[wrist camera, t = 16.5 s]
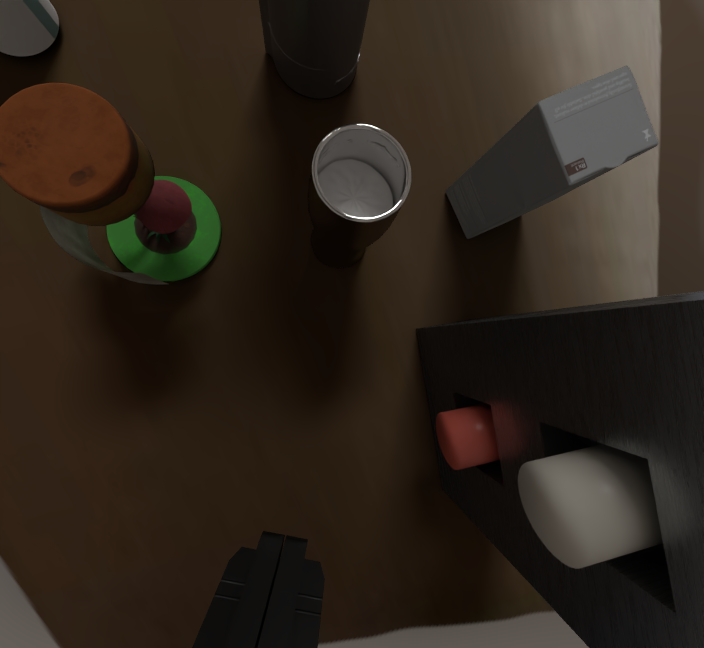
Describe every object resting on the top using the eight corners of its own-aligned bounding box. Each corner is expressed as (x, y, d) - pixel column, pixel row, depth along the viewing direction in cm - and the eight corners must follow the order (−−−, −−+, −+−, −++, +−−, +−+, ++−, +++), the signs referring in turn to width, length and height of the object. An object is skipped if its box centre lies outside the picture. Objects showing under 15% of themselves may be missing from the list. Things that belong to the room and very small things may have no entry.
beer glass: (330, 285, 36) (349, 245, 21) (293, 231, 35) (286, 152, 20) (381, 251, 37) (434, 190, 22) (346, 198, 36) (375, 100, 22)
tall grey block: (442, 489, 36) (1062, 1158, 7) (416, 328, 37) (884, 281, 7) (500, 475, 37) (1257, 997, 8) (473, 319, 38) (1091, 243, 8)
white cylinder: (525, 531, 18) (598, 594, 13) (511, 449, 18) (579, 484, 13) (606, 509, 18) (701, 561, 14) (592, 430, 18) (682, 458, 14)
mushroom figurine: (151, 144, 34) (31, -9, 19) (249, 224, 35) (209, 138, 20) (67, 230, 32) (-135, 137, 17) (173, 311, 33) (68, 288, 18)
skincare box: (500, 166, 39) (630, 50, 24) (525, 220, 39) (671, 141, 24) (439, 191, 38) (535, 87, 22) (465, 248, 38) (578, 183, 22)
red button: (440, 458, 28) (465, 479, 24) (432, 407, 28) (455, 419, 24) (493, 446, 29) (526, 464, 25) (485, 396, 29) (516, 406, 25)
